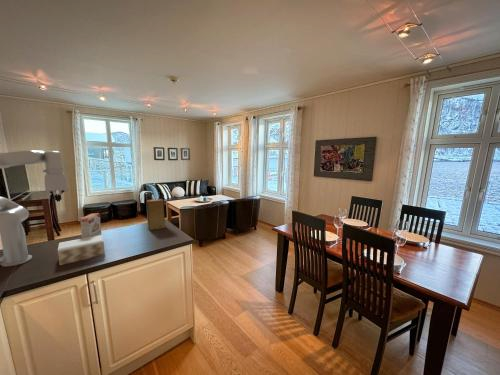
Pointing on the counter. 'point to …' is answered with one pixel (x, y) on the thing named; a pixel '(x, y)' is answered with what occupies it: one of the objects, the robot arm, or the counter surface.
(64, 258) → the storage box
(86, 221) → the cracker box
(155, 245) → the counter surface
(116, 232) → the counter surface
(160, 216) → the food packaging
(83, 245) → the lid
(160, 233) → the counter surface
